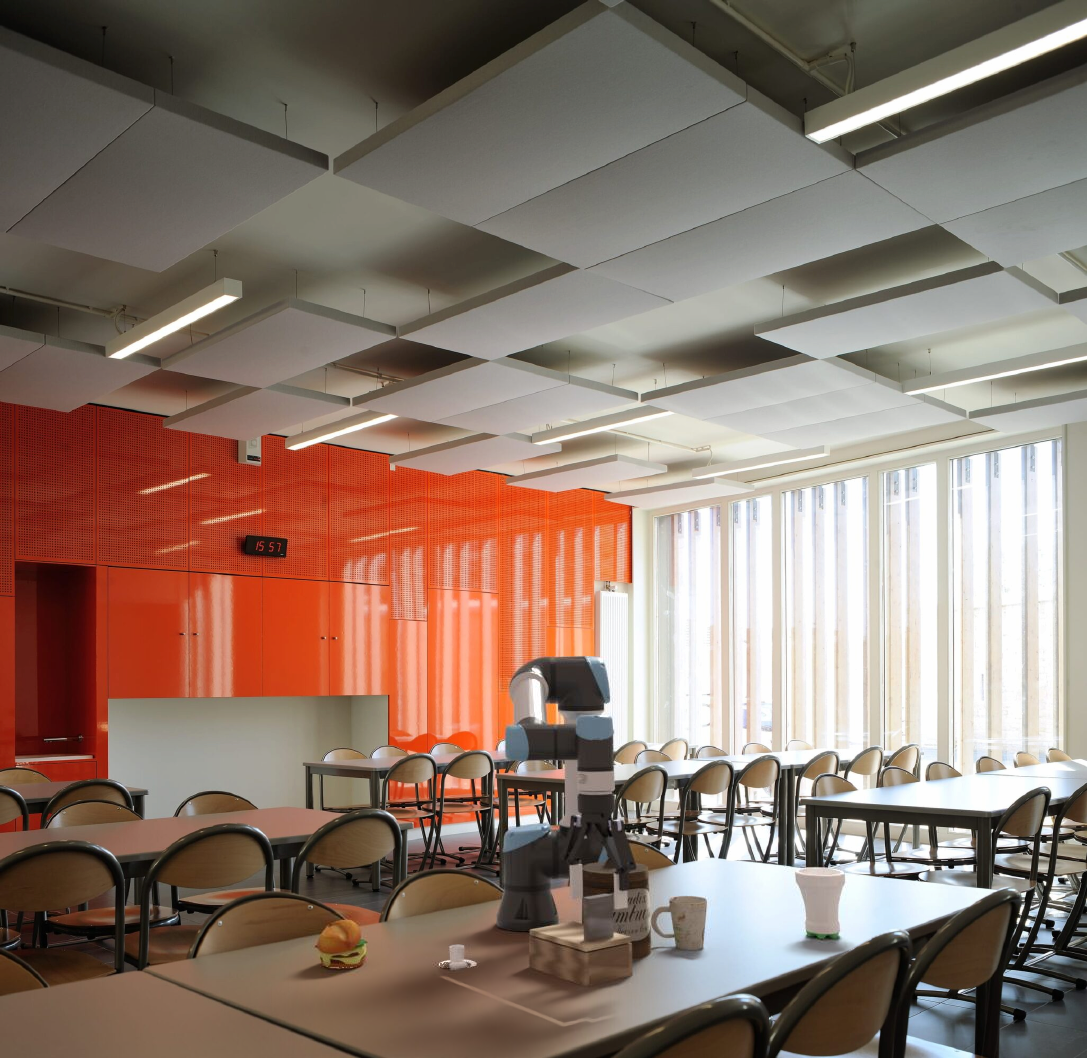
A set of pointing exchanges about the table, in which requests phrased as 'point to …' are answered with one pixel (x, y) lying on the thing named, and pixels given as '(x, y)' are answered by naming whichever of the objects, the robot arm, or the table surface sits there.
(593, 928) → the lid
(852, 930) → the table surface
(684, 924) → the mug
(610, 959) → the box
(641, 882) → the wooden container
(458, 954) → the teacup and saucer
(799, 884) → the cup
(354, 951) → the cheeseburger
